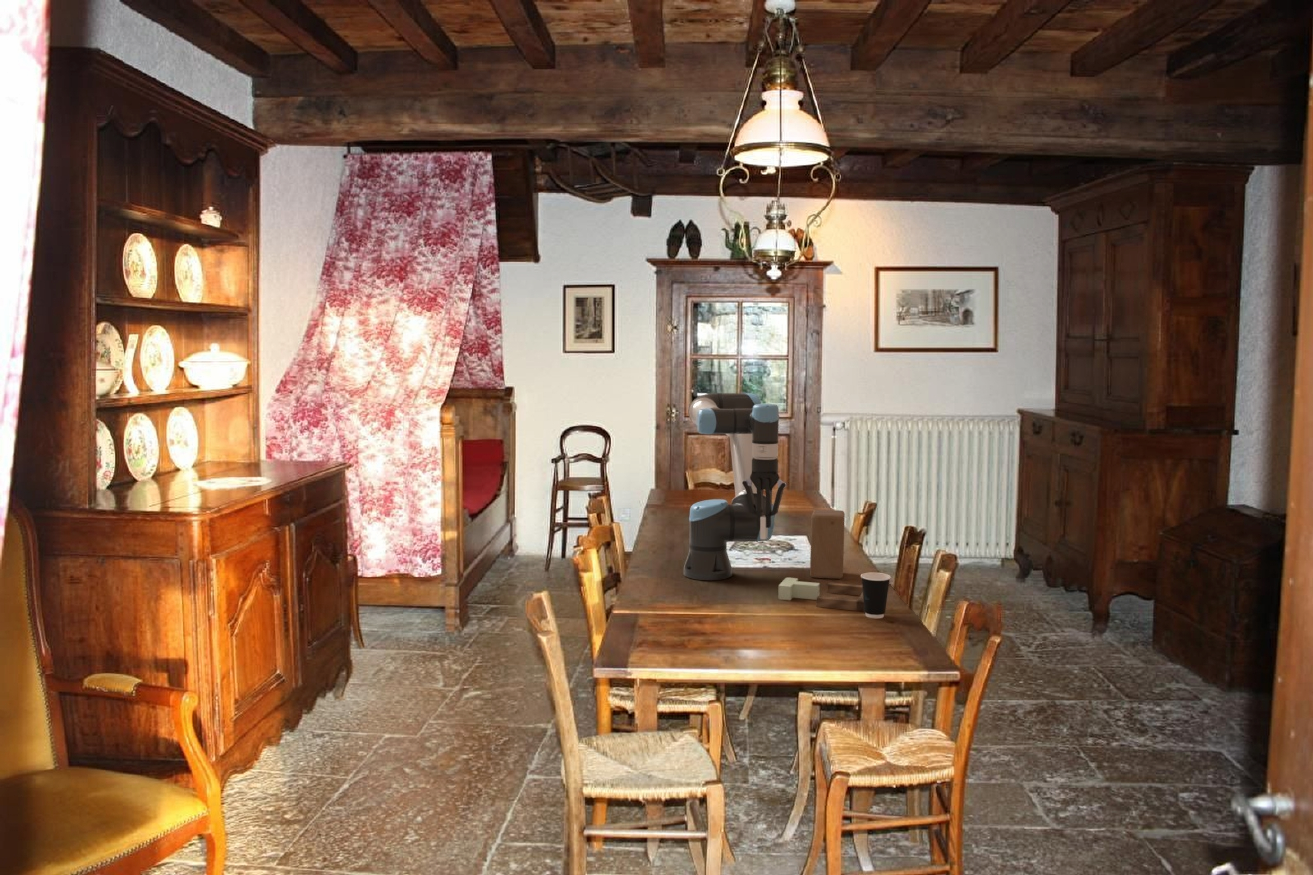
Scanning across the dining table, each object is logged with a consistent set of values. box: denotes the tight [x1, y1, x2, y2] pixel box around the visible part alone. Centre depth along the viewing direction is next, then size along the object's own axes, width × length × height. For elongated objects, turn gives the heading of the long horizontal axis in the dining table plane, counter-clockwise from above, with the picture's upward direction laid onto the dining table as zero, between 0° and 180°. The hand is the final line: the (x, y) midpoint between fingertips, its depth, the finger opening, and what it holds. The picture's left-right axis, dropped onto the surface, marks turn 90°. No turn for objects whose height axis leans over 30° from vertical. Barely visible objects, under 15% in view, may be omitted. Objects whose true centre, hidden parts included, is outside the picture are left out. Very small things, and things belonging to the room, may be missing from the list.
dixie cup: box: [860, 572, 891, 619], centre depth 268 cm, size 8×8×11 cm
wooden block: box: [809, 509, 846, 580], centre depth 312 cm, size 10×10×20 cm
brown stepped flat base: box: [816, 582, 865, 612], centre depth 283 cm, size 13×18×2 cm
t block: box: [777, 577, 821, 601], centre depth 288 cm, size 10×10×4 cm
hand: (763, 538), depth 290 cm, fingers closed
